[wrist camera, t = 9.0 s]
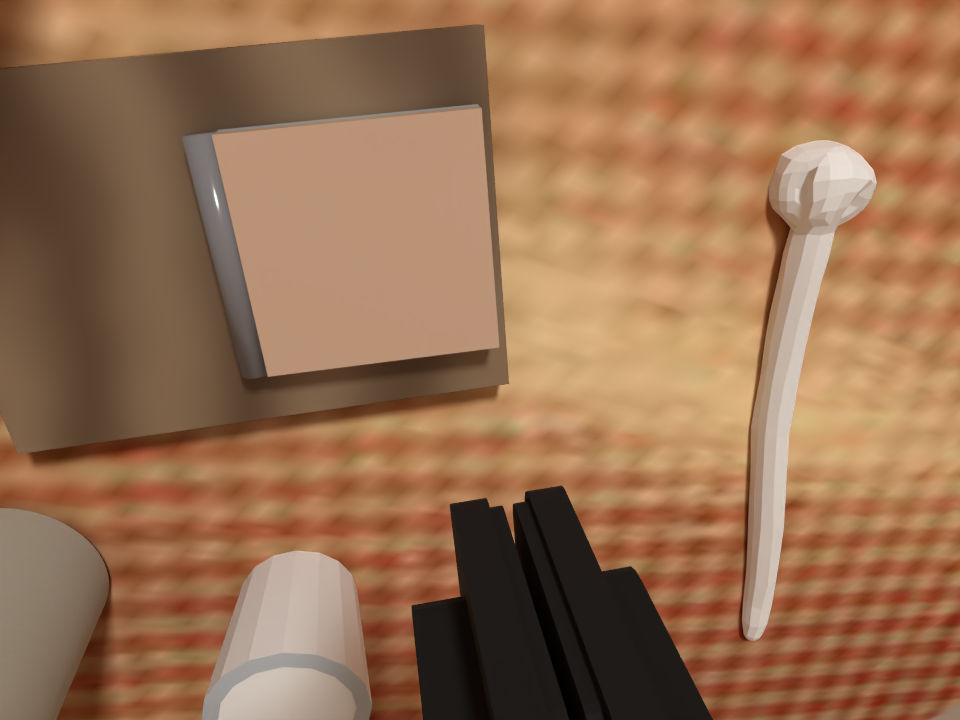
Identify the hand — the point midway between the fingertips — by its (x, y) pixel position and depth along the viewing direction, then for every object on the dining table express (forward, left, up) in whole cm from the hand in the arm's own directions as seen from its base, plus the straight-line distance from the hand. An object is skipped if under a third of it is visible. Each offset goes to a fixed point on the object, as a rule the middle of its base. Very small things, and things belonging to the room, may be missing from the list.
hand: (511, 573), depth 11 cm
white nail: (+13, +17, -21) cm, 30 cm away
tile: (0, -2, -18) cm, 18 cm away
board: (0, -7, -21) cm, 22 cm away
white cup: (+18, -8, -21) cm, 29 cm away
